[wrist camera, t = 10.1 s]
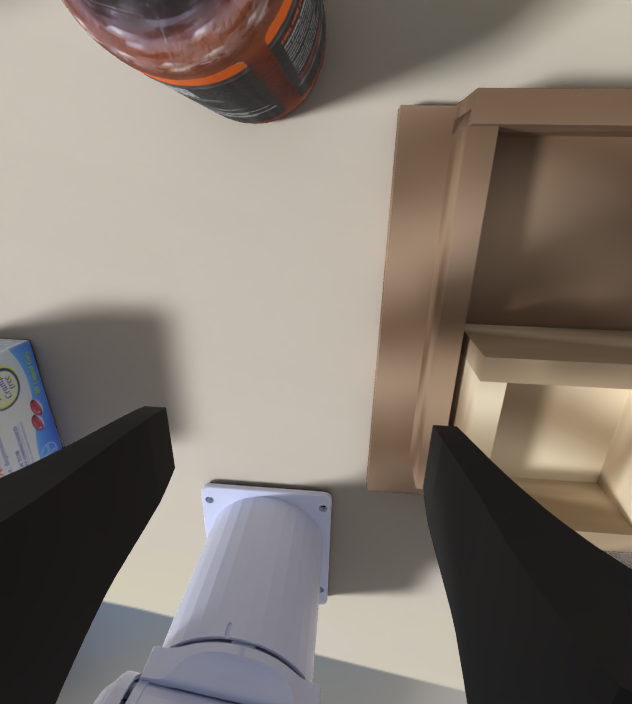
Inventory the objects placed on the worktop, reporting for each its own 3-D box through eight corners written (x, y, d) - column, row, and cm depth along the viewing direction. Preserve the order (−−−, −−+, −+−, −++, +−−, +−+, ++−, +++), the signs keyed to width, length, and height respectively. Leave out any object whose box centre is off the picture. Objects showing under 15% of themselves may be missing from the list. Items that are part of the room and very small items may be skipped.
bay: (650, 498, 23) (707, 559, 19) (366, 478, 24) (369, 531, 20) (816, 113, 16) (960, 90, 12) (398, 109, 17) (411, 87, 13)
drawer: (588, 535, 23) (692, 688, 16) (425, 522, 23) (457, 664, 16) (663, 332, 18) (857, 423, 11) (458, 323, 19) (521, 404, 12)
